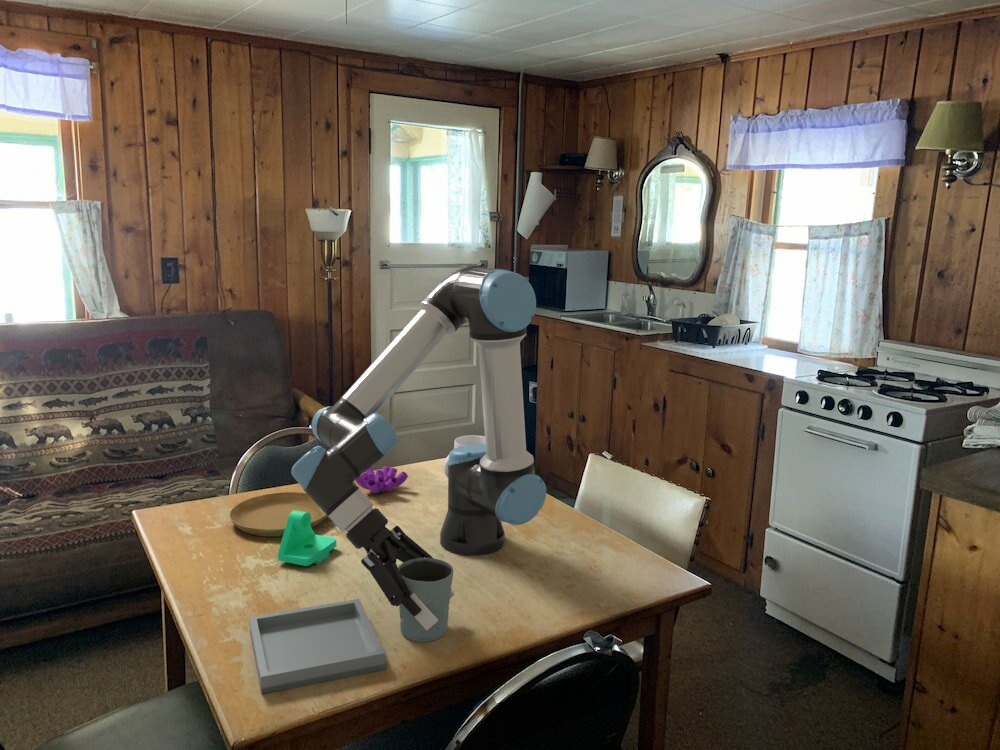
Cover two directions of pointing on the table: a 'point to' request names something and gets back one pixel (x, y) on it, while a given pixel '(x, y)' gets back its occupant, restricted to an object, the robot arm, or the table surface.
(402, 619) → the grey green cup
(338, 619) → the tray
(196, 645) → the table surface
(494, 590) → the table surface
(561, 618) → the table surface
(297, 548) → the camera mount
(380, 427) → the robot arm
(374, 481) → the purple coral
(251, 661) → the table surface
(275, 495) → the plant saucer
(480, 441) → the mug
